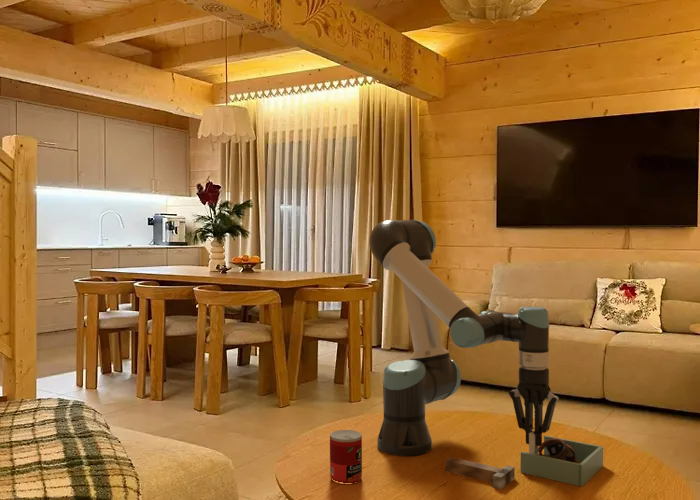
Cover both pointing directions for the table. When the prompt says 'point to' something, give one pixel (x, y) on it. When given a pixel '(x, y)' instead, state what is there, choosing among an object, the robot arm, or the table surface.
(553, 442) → the pottery mug
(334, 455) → the canned food
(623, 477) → the table surface
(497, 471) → the hammer
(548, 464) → the green u-shaped frame
